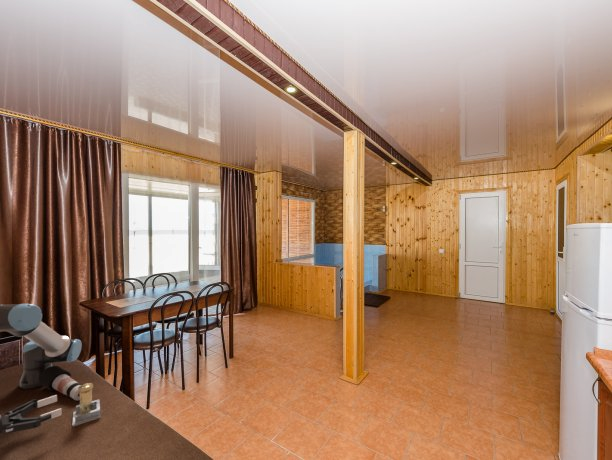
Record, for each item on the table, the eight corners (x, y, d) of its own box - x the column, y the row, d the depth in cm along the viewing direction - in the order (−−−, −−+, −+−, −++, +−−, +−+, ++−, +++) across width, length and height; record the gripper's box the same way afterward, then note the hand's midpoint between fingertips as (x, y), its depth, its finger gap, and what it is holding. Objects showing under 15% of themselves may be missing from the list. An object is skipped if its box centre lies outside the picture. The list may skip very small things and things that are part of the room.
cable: (81, 413, 145) (71, 401, 140) (45, 389, 159) (34, 377, 154) (100, 394, 152) (91, 382, 148) (64, 373, 167) (55, 361, 162)
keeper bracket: (73, 413, 138) (73, 406, 138) (99, 405, 144) (99, 398, 143) (72, 426, 129) (72, 419, 129) (100, 417, 135) (100, 410, 135)
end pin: (78, 413, 137) (78, 385, 136) (93, 408, 140) (93, 381, 139) (78, 419, 132) (77, 391, 131) (93, 415, 135) (93, 387, 135)
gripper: (-12, 423, 122) (55, 400, 138) (-13, 456, 105) (63, 426, 120) (-13, 405, 122) (55, 384, 137) (-14, 435, 105) (63, 408, 120)
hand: (59, 404), depth 129 cm, fingers open, 13 cm apart
